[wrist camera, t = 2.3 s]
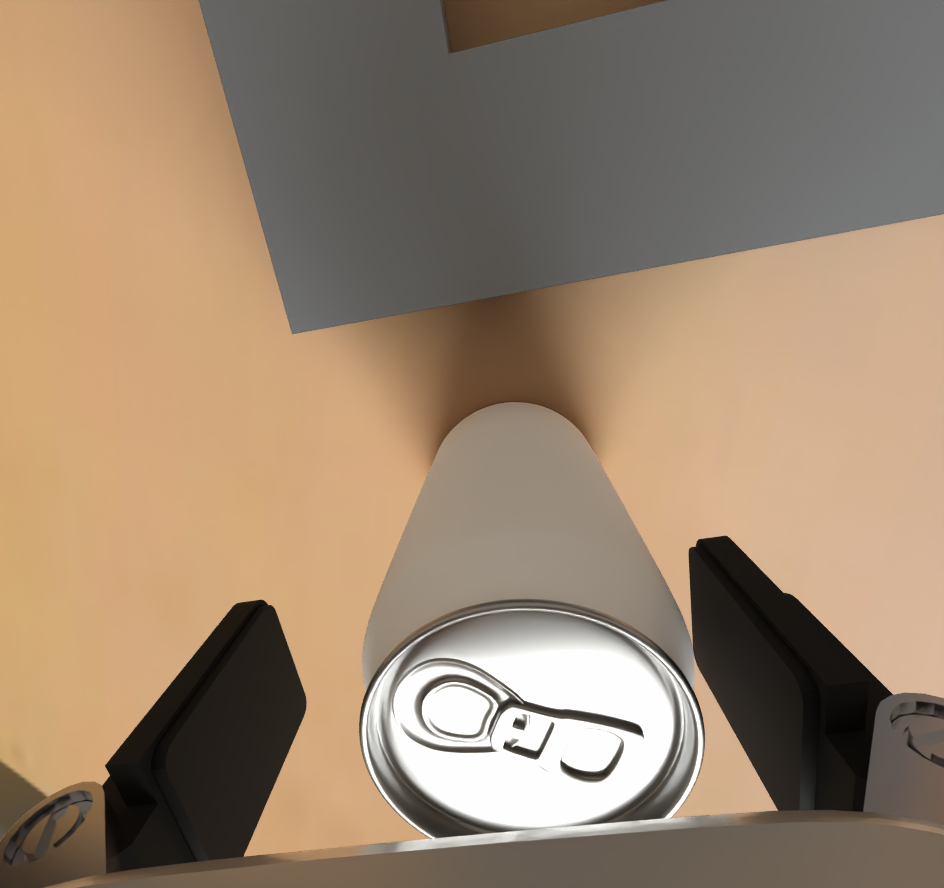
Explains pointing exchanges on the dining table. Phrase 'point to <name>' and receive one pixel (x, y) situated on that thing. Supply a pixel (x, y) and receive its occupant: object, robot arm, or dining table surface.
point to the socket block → (568, 140)
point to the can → (526, 645)
